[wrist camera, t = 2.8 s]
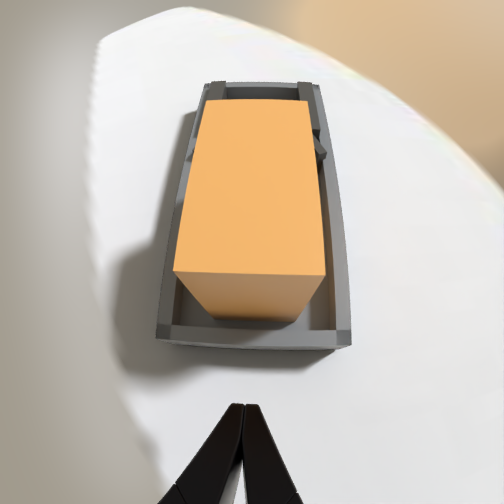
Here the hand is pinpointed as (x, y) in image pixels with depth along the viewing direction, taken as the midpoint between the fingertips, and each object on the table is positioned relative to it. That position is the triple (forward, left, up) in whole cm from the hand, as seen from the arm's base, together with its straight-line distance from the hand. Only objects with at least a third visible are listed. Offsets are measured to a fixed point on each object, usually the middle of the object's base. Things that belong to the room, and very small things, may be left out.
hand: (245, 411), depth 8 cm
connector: (+5, +7, -7) cm, 11 cm away
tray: (+8, +11, -8) cm, 15 cm away
